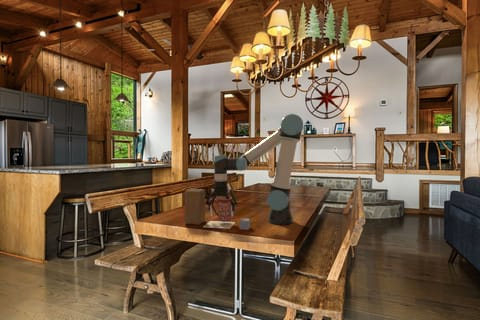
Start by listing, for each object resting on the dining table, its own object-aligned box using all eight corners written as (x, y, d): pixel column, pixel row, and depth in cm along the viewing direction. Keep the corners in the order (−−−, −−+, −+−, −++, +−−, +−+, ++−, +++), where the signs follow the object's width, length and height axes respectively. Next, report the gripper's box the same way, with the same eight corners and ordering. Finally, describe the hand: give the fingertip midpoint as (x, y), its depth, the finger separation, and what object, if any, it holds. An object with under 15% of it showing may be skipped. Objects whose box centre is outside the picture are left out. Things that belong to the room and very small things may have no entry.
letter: (235, 222, 170) (235, 221, 170) (229, 228, 156) (229, 228, 156) (210, 221, 173) (210, 220, 173) (202, 227, 159) (202, 226, 159)
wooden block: (200, 225, 164) (199, 191, 163) (184, 224, 166) (183, 190, 165) (205, 220, 173) (205, 189, 173) (190, 220, 175) (190, 188, 175)
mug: (234, 219, 169) (234, 197, 169) (229, 222, 161) (228, 199, 160) (215, 218, 173) (215, 196, 173) (209, 221, 165) (208, 198, 164)
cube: (249, 227, 159) (249, 218, 159) (248, 229, 154) (248, 221, 154) (241, 227, 160) (241, 218, 160) (239, 229, 155) (239, 220, 155)
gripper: (241, 179, 168) (242, 215, 168) (203, 179, 173) (204, 214, 173) (239, 181, 160) (240, 218, 161) (199, 181, 165) (200, 217, 166)
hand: (221, 216), depth 167 cm, fingers closed on mug, 12 cm apart
